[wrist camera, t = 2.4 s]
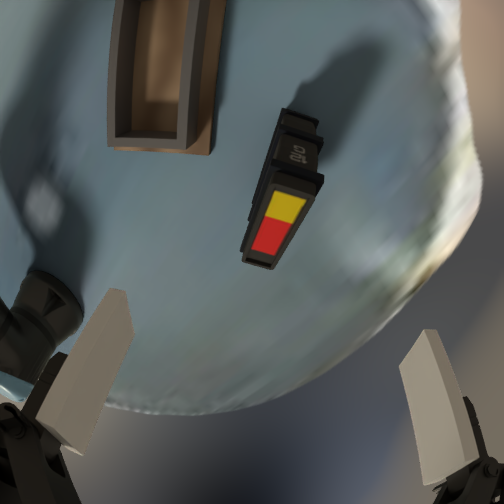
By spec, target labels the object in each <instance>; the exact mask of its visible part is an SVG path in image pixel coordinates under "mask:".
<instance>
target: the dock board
mask: <svg viewBox="0 0 504 504" xmlns="http://www.w3.org/2000/svg"><path fill="white" fill-rule="evenodd" d="M188 5H189V0H151V1H144V2H141V5H140V12H139V20H138V28H137V37H136V47H135V58H134V72H133V90H132V130H139V131H171V132H177V121H178V104H179V89H180V76H181V65H182V54H183V45H184V36H185V28H186V20H187V12H188ZM225 8H226V0H210V6H209V13H208V21H207V29H206V37H205V46H204V55H203V64H202V74H201V85H200V97H199V109H198V123H197V139H196V142H195V143H194V144H193V145H191V146H190V147H189V148H188V149H186V150H180V149H164V148H144V147H114V150H129V151H153V152H170V153H184V154H196V155H207V156H209V155H210V154H211V141H212V128H213V116H214V104H215V94H216V83H217V74H218V64H219V55H220V46H221V38H222V30H223V22H224V15H225Z"/></svg>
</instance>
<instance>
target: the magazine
mask: <svg viewBox="0 0 504 504" xmlns="http://www.w3.org/2000/svg"><path fill="white" fill-rule="evenodd" d="M318 123H319V121H318V119H315V118H312V117H310V116H307V115H304V114H301V113H298V112H295V111H291V110H288V109H285V108H282V109H281V113H280V116H279V119H278V122H277V125H276V128H275V131H274V134H273V137H272V140H271V143H270V146H269V150H268V153H267V156H266V159H265V162H264V165H263V168H262V171H261V175H260V178H259V181H258V184H257V187H256V190H255V194H254V197H253V200H252V204H253V205H252V208H251V211H250V214H249V217H248V221H249V224H248V227H247V230H246V233H245V236H244V239H243V241H242V244H241V248H240V252H243V256H242V262H244V263H248V264H251V265H255V266H258V267H262V268H266V269H269V270H273V269H274V268H275V266H276V265H277V263H278V261H279V260H280V258H281V256H282V255H283V253H284V251H285V250H286V248H287V246H288V245H289V243H290V241H291V240H292V238H293V236H294V235H295V233H296V231H297V230H298V228H299V226H300V225H301V223H302V221H303V220H304V218H305V216H306V214H307V213H308V211H309V209H310V208H311V206H312V204H313V203H314V201H315V197H316V196H317V194H318V192H319V190H320V189H321V187H322V185H323V183H324V175H323V174H320V173H317V166H318V155H319V153H320V150H321V148H322V146H323V144H324V141H323V138H322V137H319V136H316V128H317V126H318Z"/></svg>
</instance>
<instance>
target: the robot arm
mask: <svg viewBox="0 0 504 504" xmlns="http://www.w3.org/2000/svg"><path fill="white" fill-rule="evenodd" d="M82 321H83V314H82V310H81V308H80V305H79V303H78V302H77V300H76V298H75V297H74V295H73V294H72V293H71V292H70V291H69V289H68V288H67V287H66V286H65V285H64V284H63V283H61V282H60V281H59V280H58V279H56V278H55V277H53V276H52V275H50V274H48V273H46V272H43V271H32V272H30V273H29V274H28V275H27V276H26V277H25V279H24V280H23V281H22V283H21V286H20V291H19V292H18V294H17V297H16V299H15V302H14V304H13V306H12V307H11V309H10V310H9V309H8V307H7V306H6V305H5V303H4V302H3V300H2V299H1V297H0V394H2V395H3V396H5V397H7V398H9V399H11V400H13V401H15V402H23V401H25V400H26V399H27V397H28V396H29V397H28V399H27V401H26V403H25V405H24V407H23V409H22V410H21V411H20V410H19V409H18V408H17V407H16V406H15V405H14V404H12V403H2V404H0V504H82V503H81V501H80V499H79V497H78V494H77V492H76V490H75V488H74V485H73V483H72V480H71V478H70V475H69V472H68V470H67V467H66V465H65V462H64V459H63V456H62V453H61V451H60V446H61V444H62V445H63V446H65V447H66V448H67V449H69V450H71V451H73V452H75V453H77V454H80V455H82V456H84V454H85V452H86V449H87V446H88V443H89V441H90V438H91V436H92V433H93V430H94V428H95V425H96V423H97V420H98V418H99V415H100V413H101V410H102V408H103V406H104V403H105V401H106V398H107V396H108V394H109V391H110V389H111V386H112V384H113V382H114V380H115V377H116V375H117V373H118V370H119V368H120V366H121V364H122V361H123V359H124V357H125V355H126V353H127V350H128V348H129V346H130V344H131V342H132V340H133V337H134V335H135V333H134V329H133V324H132V320H131V315H130V311H129V306H128V301H127V296H126V291H122V290H118V289H113V288H110V289H109V290H108V292H107V293H106V295H105V296H104V298H103V299H102V301H101V302H100V304H99V306H98V307H97V309H96V310H95V312H94V313H93V315H92V317H91V318H90V320H89V321H88V323H87V325H86V326H85V328H84V330H83V331H82V333H81V335H80V336H79V338H78V340H77V341H76V343H75V345H74V346H73V348H72V350H71V352H70V353H69V355H67V354H64V353H61V352H58V353H57V354H55V355H54V356H53V357H52V358H51V359H50V357H51V356H52V354H53V352H54V351H55V349H56V347H57V346H58V345H60V344H61V343H62V342H63V341H64V340H66V339H67V338H68V337H69V336H71V335H73V334H74V333H76V331H77V330H78V328H79V327H80V325H81V324H82ZM399 369H400V372H401V376H402V380H403V384H404V388H405V392H406V396H407V400H408V404H409V409H410V413H411V418H412V422H413V427H414V432H415V437H416V442H417V448H418V453H419V459H420V465H421V472H422V479H423V485H428V484H432V483H436V482H438V481H440V480H442V479H444V478H446V479H447V481H446V482H444V483H442V484H440V485H438V486H437V487H435V488H434V489H433V492H435V491H437V490H439V489H441V490H440V491H438V492H437V493H436V494H438V495H437V497H436V499H435V501H434V503H433V504H504V464H501V463H498V462H497V460H496V459H495V458H493V457H489V456H488V454H487V451H486V447H485V443H484V439H483V436H482V432H481V429H480V426H479V425H478V424H479V422H478V419H477V418H476V412H475V410H474V406H473V404H472V403H471V402H470V400H469V399H468V397H467V396H466V397H462V395H461V392H460V389H459V386H458V383H457V380H456V377H455V375H454V372H453V369H452V367H451V365H450V362H449V359H448V357H447V354H446V352H445V349H444V347H443V344H442V342H441V340H440V337H439V335H438V332H437V330H428V329H424V330H423V331H422V333H421V335H420V336H419V338H418V339H417V341H416V342H415V344H414V345H413V347H412V348H411V350H410V351H409V353H408V354H407V355H406V357H405V359H404V360H403V361H402V363H401V364H400V365H399ZM42 371H43V372H42ZM38 379H39V380H38ZM29 394H30V395H29ZM499 495H500V500H499V501H498V502H495V497H497V496H499Z"/></svg>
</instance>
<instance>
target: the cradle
mask: <svg viewBox="0 0 504 504" xmlns="http://www.w3.org/2000/svg"><path fill="white" fill-rule="evenodd" d="M144 1H151V0H116V2H115V8H114V15H113V23H112V32H111V41H110V53H109V67H108V88H107V142H108V147H144V148H164V149H180V150H186V149H188V148H189V147H190V146H191V145H193V144H194V143H195V142H196V139H197V123H198V109H199V97H200V85H201V74H202V64H203V55H204V46H205V37H206V29H207V21H208V13H209V6H210V0H189V5H188V12H187V20H186V28H185V36H184V45H183V54H182V65H181V76H180V89H179V104H178V121H177V132H171V131H139V130H132V90H133V72H134V58H135V47H136V37H137V28H138V20H139V12H140V5H141V2H144Z"/></svg>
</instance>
